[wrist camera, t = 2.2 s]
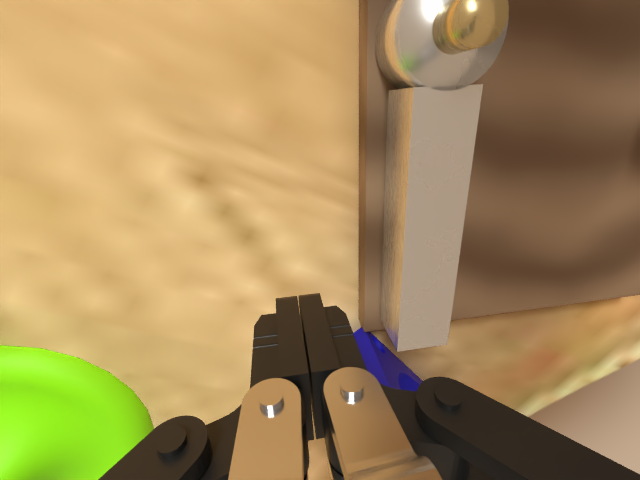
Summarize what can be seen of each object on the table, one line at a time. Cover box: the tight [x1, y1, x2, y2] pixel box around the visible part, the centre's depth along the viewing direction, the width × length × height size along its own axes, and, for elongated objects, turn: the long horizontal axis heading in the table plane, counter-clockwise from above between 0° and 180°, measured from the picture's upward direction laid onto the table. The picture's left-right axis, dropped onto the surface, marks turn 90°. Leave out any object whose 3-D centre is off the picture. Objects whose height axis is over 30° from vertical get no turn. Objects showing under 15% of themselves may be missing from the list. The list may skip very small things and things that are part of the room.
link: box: [375, 0, 509, 352], centre depth 15 cm, size 18×4×5 cm, turn 3°
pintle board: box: [359, 0, 640, 332], centre depth 17 cm, size 23×21×6 cm
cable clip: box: [353, 327, 423, 391], centre depth 23 cm, size 12×4×6 cm, turn 41°
